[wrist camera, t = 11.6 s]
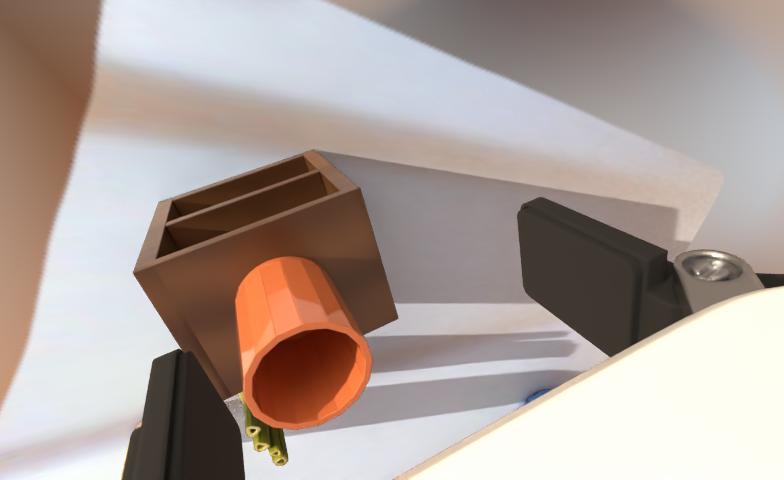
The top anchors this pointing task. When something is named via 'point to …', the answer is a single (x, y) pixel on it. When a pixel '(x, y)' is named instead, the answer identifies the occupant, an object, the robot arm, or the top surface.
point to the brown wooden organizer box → (257, 253)
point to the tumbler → (298, 345)
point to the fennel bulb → (265, 436)
